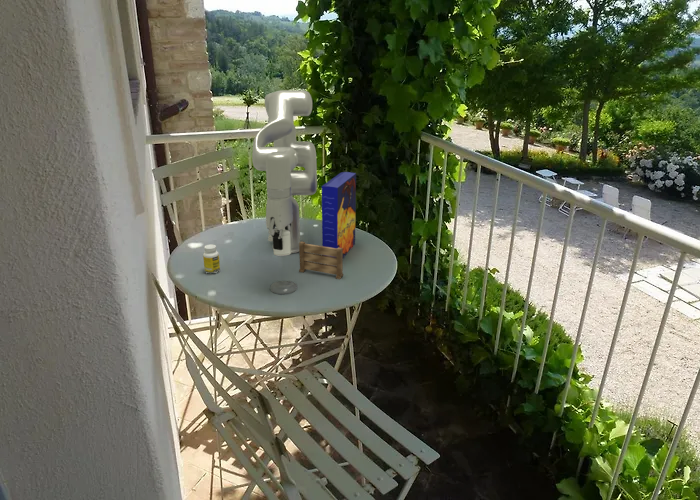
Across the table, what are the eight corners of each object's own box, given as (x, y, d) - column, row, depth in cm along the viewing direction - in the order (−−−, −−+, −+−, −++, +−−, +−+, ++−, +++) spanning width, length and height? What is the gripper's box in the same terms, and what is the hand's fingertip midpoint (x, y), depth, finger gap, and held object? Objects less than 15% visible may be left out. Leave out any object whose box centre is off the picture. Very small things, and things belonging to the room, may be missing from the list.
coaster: (265, 291, 167) (265, 289, 166) (278, 280, 174) (278, 278, 174) (289, 296, 164) (289, 294, 163) (301, 284, 171) (301, 283, 171)
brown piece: (299, 271, 181) (298, 243, 177) (302, 268, 184) (302, 240, 179) (340, 279, 176) (340, 250, 171) (343, 275, 178) (343, 247, 174)
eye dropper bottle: (287, 257, 161) (285, 222, 157) (271, 255, 163) (269, 220, 158) (293, 252, 165) (291, 218, 161) (277, 250, 167) (275, 216, 162)
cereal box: (337, 265, 187) (337, 187, 175) (322, 262, 188) (321, 185, 177) (355, 244, 206) (356, 172, 194) (341, 242, 208) (341, 171, 196)
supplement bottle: (215, 275, 177) (212, 250, 174) (201, 273, 179) (198, 248, 175) (223, 269, 182) (220, 244, 178) (210, 267, 184) (207, 242, 180)
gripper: (281, 184, 164) (283, 236, 172) (254, 198, 150) (258, 254, 157) (302, 186, 162) (303, 239, 169) (276, 201, 147) (279, 257, 155)
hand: (281, 245), depth 163 cm, fingers closed on eye dropper bottle, 4 cm apart
